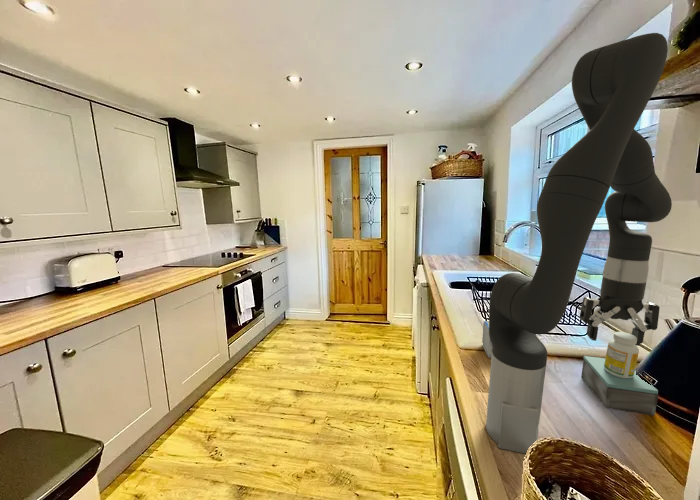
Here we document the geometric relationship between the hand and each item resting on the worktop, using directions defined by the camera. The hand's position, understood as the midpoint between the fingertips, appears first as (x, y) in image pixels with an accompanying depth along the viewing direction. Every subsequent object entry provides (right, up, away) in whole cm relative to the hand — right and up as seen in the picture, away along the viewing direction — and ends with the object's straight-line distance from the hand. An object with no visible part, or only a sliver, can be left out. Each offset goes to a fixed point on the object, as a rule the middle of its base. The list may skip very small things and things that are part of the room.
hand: (613, 341), depth 71 cm
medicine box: (-20, -10, +20) cm, 30 cm away
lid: (+1, -8, 0) cm, 8 cm away
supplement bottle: (0, -7, -1) cm, 7 cm away
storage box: (0, -13, 0) cm, 13 cm away
